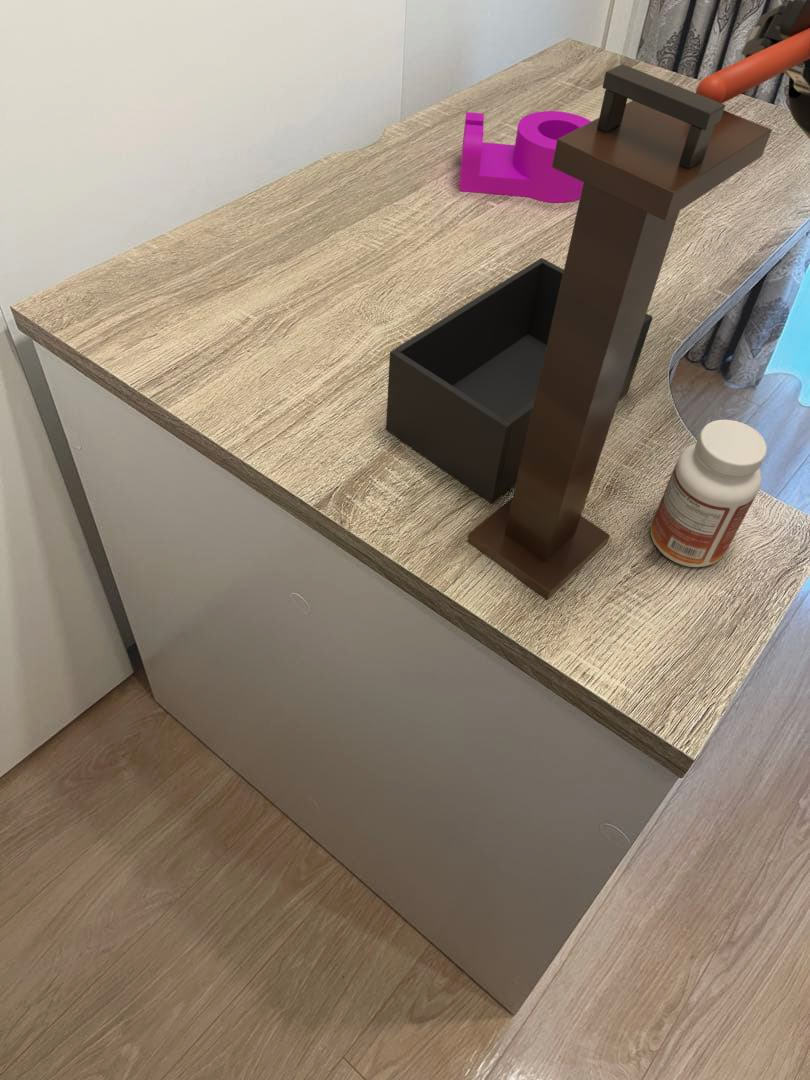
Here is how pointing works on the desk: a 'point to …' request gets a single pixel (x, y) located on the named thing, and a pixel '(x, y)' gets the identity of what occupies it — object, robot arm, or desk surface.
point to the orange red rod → (756, 68)
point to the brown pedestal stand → (606, 303)
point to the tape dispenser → (520, 159)
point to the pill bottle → (709, 494)
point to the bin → (480, 380)
